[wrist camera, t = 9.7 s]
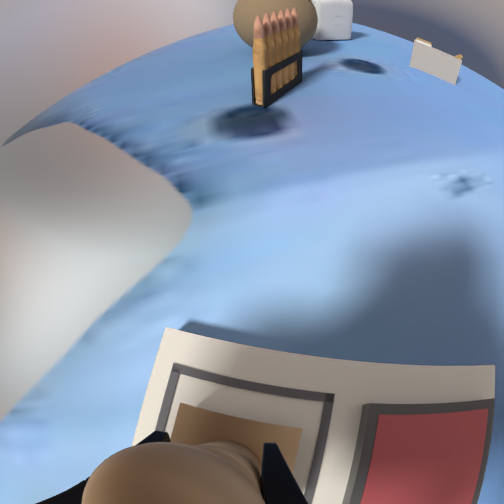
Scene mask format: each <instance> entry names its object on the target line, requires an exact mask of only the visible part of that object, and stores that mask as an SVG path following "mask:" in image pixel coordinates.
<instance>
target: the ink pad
mask: <svg viewBox="0 0 504 504" xmlns="http://www.w3.org/2000/svg"><path fill="white" fill-rule="evenodd" d="M493 414H494V398H492V399H484V400H475V401H465V402H451V403H432V404H380V403H368V404H363V406H362V412H361V419H360V425H359V431H358V436H357V442H356V447H355V452H354V457H353V461H352V466H351V470H350V475H349V479H348V483H347V487H346V491H345V494H344V498H343V502H342V504H477V502H478V498H479V495H480V491H481V487H482V483H483V479H484V474H485V470H486V465H487V459H488V454H489V448H490V441H491V433H492V424H493Z"/></svg>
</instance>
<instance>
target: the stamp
mask: <svg viewBox="0 0 504 504" xmlns="http://www.w3.org/2000/svg"><path fill="white" fill-rule="evenodd" d="M301 433H302V428H296V427H288V426H282V425H275V424H269V423H264V422H258V421H253V420H248V419H243V418H238V417H234V416H230V415H225V414H221V413H217V412H213V411H209V410H205V409H202V408H198V407H194V406H191V405H187V404H184V403H181V402H180V405H179V409H178V412H177V416H176V420H175V423H174V427H173V430H172V434H171V438H170V440H171V442H154V443H146V444H141V445H135V446H132V447H129V448H126V449H123V450H121V451H119V452H117V453H115V454H113V455H111V456H110V457H109V458H107V459H106V460H104V461H103V462H102V463H101V464H100V465H99V466H98V467H97V468H96V469H95V470H94V472H93V473H92V474H91V476H90V478H89V480H88V482H87V484H86V486H85V489H84V492H83V496H82V504H265V502H264V500H263V498H262V491H261V467H262V455H263V444H264V443H265V442H270V443H276V444H277V445H278V447H279V449H280V451H281V453H282V455H283V457H284V459H285V461H286V463H287V465H288V466H289V468H290V470H291V472H292V473H293V469H294V465H295V461H296V456H297V452H298V447H299V443H300V438H301Z"/></svg>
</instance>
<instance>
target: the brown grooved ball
mask: <svg viewBox="0 0 504 504" xmlns="http://www.w3.org/2000/svg"><path fill="white" fill-rule="evenodd" d="M293 7H295V8H296V10H297V13H298V18H299V31H300V48H301V47H303V46H304V45H305V44H307V43H308V42H309V41H310V39H311V38H312V37H313V35H314V33H315V31H316V28H317V23H318V17H317V12H316V9H315V6H314V4H313V3H312V1H311V0H238V2H237V4H236V6H235V9H234V13H233V21H234V26H235V29H236V31H237V33H238V35H239V36H240V37H241V39H242V40H243V41H244V42H245V43H247V44H248V45H249V46H251V47H252V48H253V44H254V39H253V38H254V22H255V18H256V16H257V15H259V16H260V17H261V19H262V22H263V18H264V15H265V13H268V15H269V17H270V19H271V15H272V13H273V11H275V12H276V14H277V16H278V14H279V12H280V10H283V12H284V15H285V12H286V10H287V8H289V9H290V11H291V12H292V9H293Z"/></svg>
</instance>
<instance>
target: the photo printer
mask: <svg viewBox="0 0 504 504" xmlns="http://www.w3.org/2000/svg"><path fill="white" fill-rule="evenodd" d="M312 3H313V4H314V6H315V9H316V12H317V17H318V23H317V28H316V31H315V33H314V35H313V37H312V38H313V39H315V40H349V39H350V38H351V30H352V15H353V4H352V1H351V0H312Z"/></svg>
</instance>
